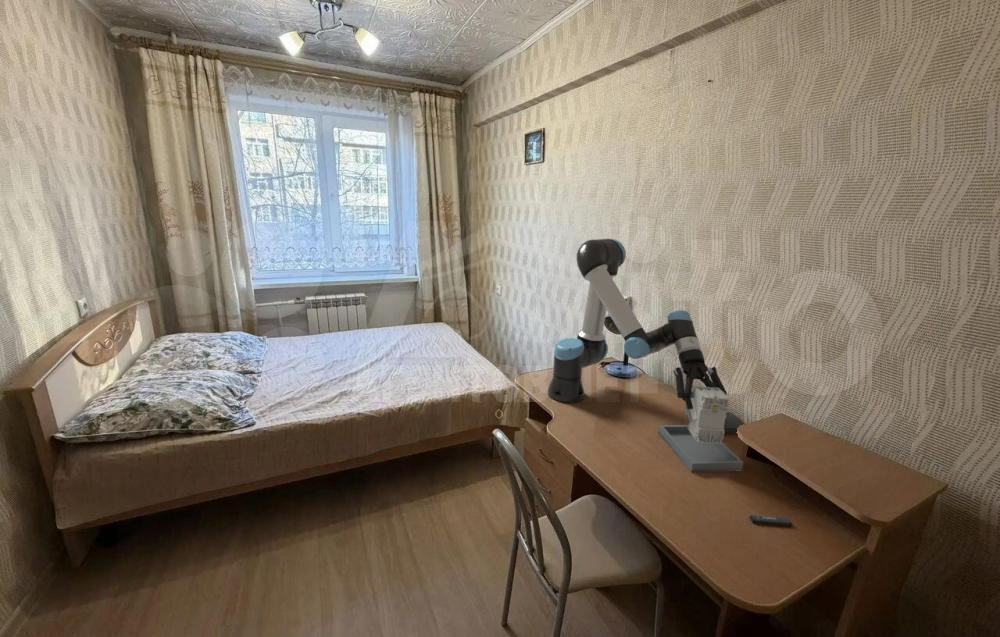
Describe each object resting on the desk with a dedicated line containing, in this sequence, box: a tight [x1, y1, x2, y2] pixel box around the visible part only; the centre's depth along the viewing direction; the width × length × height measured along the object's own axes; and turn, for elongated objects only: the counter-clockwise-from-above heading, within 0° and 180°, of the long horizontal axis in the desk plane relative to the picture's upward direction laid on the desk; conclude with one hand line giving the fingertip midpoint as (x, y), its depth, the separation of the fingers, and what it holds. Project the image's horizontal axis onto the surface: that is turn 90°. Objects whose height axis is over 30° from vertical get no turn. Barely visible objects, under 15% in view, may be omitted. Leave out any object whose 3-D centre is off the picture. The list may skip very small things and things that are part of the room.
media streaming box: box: [723, 411, 745, 435], centre depth 150 cm, size 15×15×3 cm
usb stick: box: [748, 514, 793, 528], centre depth 103 cm, size 10×3×2 cm, turn 85°
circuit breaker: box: [684, 386, 730, 444], centre depth 129 cm, size 8×14×15 cm, turn 174°
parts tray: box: [658, 424, 744, 473], centre depth 133 cm, size 22×16×3 cm
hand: (709, 418), depth 126 cm, fingers closed on circuit breaker, 8 cm apart
